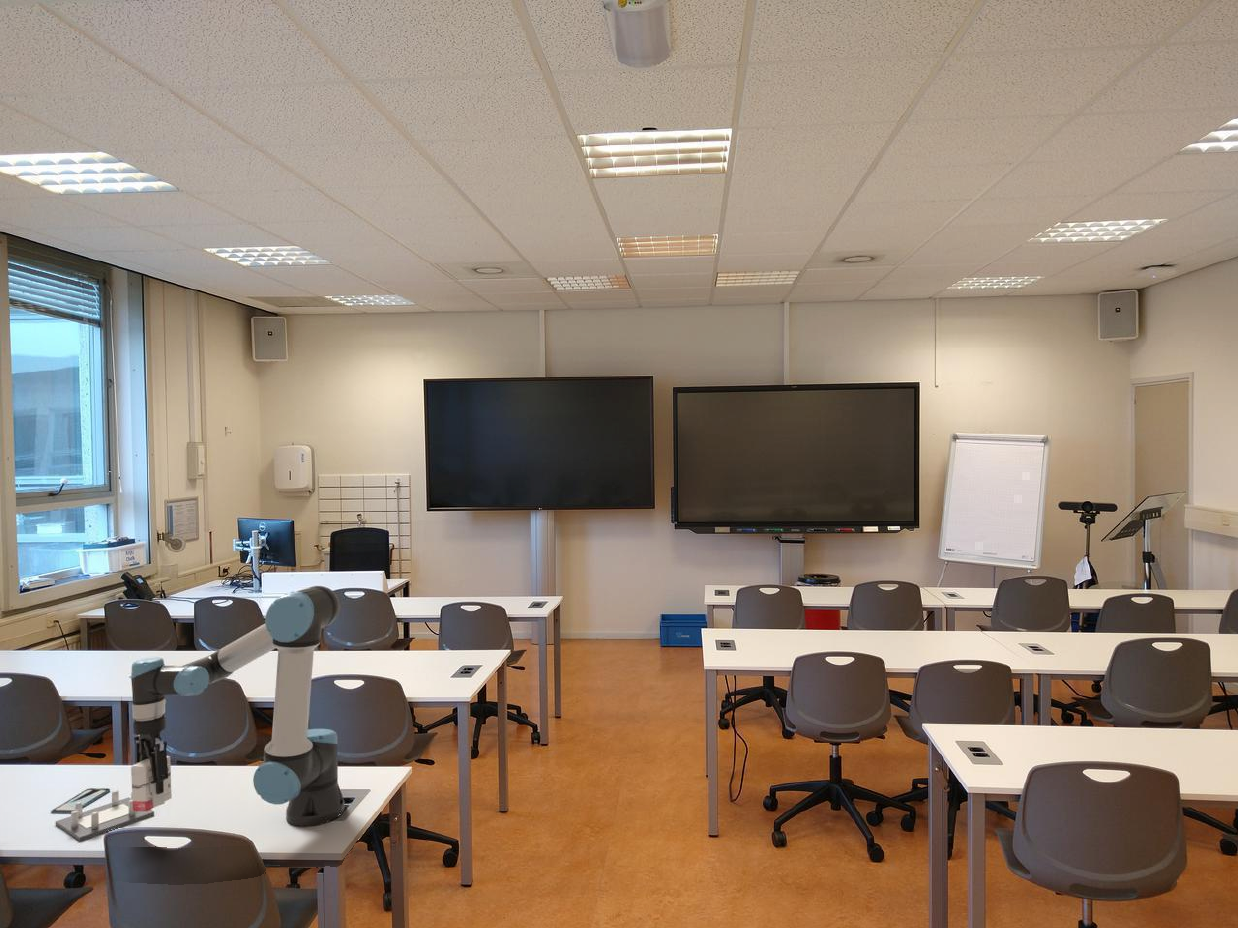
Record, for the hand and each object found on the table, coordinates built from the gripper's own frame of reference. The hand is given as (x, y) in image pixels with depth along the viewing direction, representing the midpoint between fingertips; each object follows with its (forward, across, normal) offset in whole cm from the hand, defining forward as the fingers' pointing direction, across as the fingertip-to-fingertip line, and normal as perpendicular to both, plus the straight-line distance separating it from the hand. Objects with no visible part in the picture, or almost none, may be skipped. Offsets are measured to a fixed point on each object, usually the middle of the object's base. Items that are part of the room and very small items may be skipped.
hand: (152, 801), depth 205 cm
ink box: (+1, 0, 0) cm, 1 cm away
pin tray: (+6, +16, +5) cm, 18 cm away
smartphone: (+6, +35, +4) cm, 36 cm away
